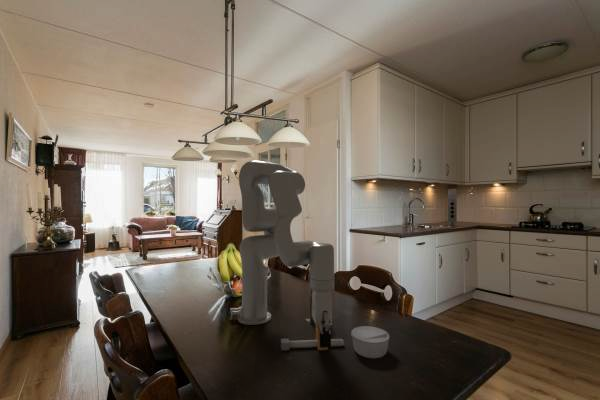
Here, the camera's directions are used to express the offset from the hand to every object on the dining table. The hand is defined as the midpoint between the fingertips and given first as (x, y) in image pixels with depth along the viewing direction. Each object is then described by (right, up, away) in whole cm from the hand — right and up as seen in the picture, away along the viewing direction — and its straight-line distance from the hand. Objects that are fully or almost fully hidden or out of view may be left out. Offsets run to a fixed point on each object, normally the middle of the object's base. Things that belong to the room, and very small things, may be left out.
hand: (322, 339), depth 93 cm
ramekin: (+14, -3, -2) cm, 14 cm away
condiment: (0, -3, +19) cm, 20 cm away
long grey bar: (-2, -2, 0) cm, 3 cm away
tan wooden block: (0, -2, 0) cm, 2 cm away
